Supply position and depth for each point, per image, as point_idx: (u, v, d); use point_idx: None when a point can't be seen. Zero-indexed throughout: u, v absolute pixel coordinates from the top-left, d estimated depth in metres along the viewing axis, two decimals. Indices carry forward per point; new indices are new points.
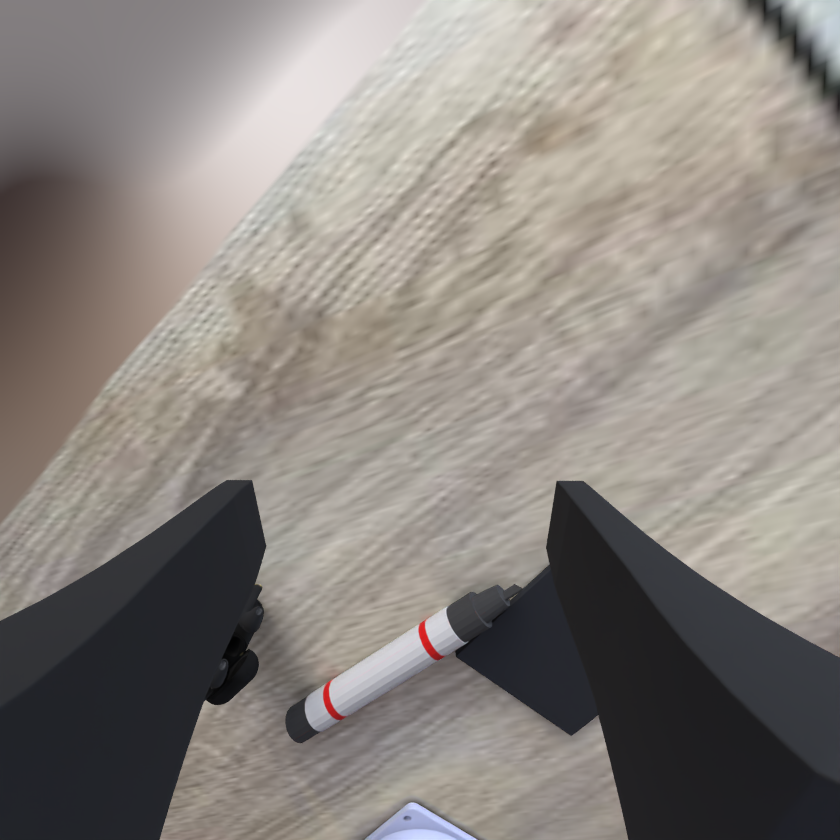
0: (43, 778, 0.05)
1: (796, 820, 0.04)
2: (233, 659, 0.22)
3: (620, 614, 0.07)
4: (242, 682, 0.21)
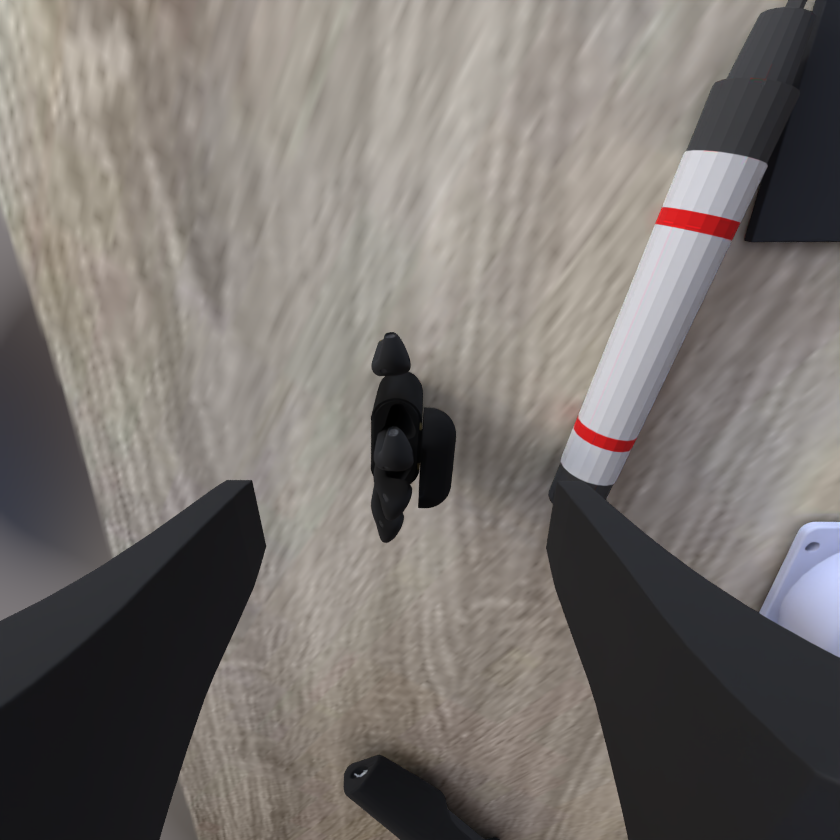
0: (43, 778, 0.05)
1: (795, 821, 0.04)
2: (417, 441, 0.14)
3: (620, 614, 0.07)
4: (441, 447, 0.12)
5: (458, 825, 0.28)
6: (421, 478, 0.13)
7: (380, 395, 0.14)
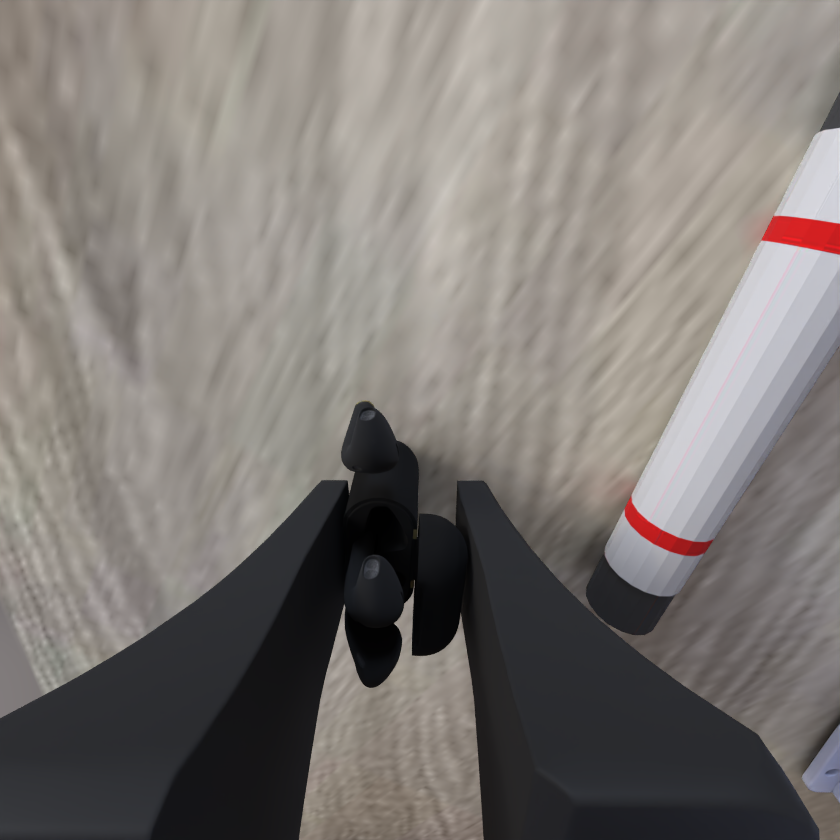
0: (242, 780, 0.05)
1: (534, 817, 0.04)
2: (409, 554, 0.09)
3: (480, 613, 0.07)
4: (447, 582, 0.08)
5: None
6: (416, 622, 0.08)
7: (356, 486, 0.10)
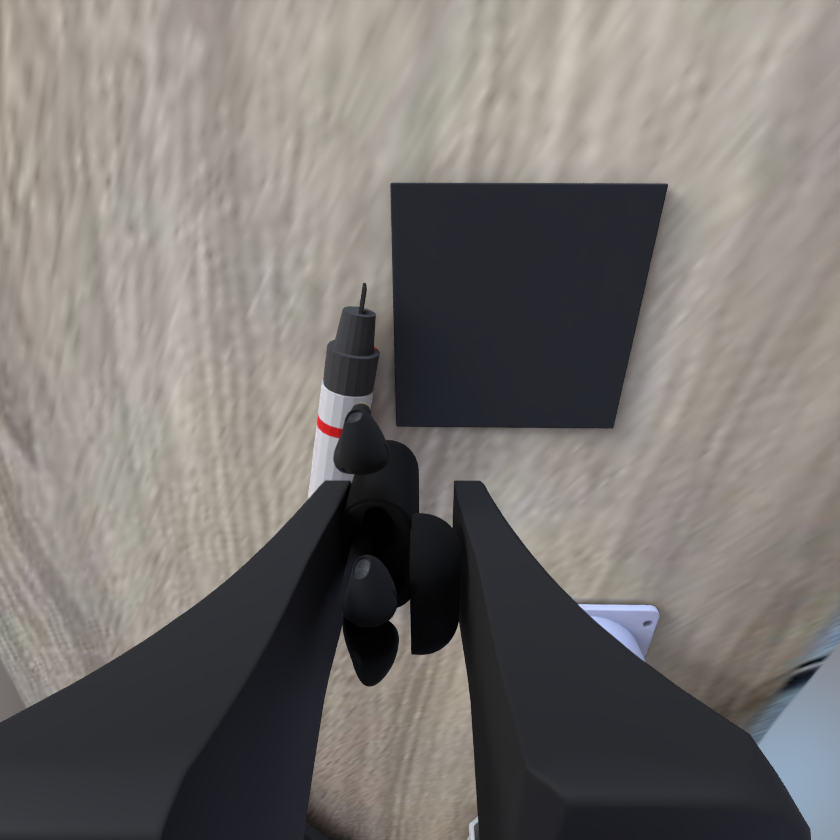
0: (249, 781, 0.05)
1: (526, 817, 0.04)
2: (407, 553, 0.09)
3: (476, 613, 0.07)
4: (439, 581, 0.08)
5: None
6: (412, 622, 0.08)
7: (353, 488, 0.10)
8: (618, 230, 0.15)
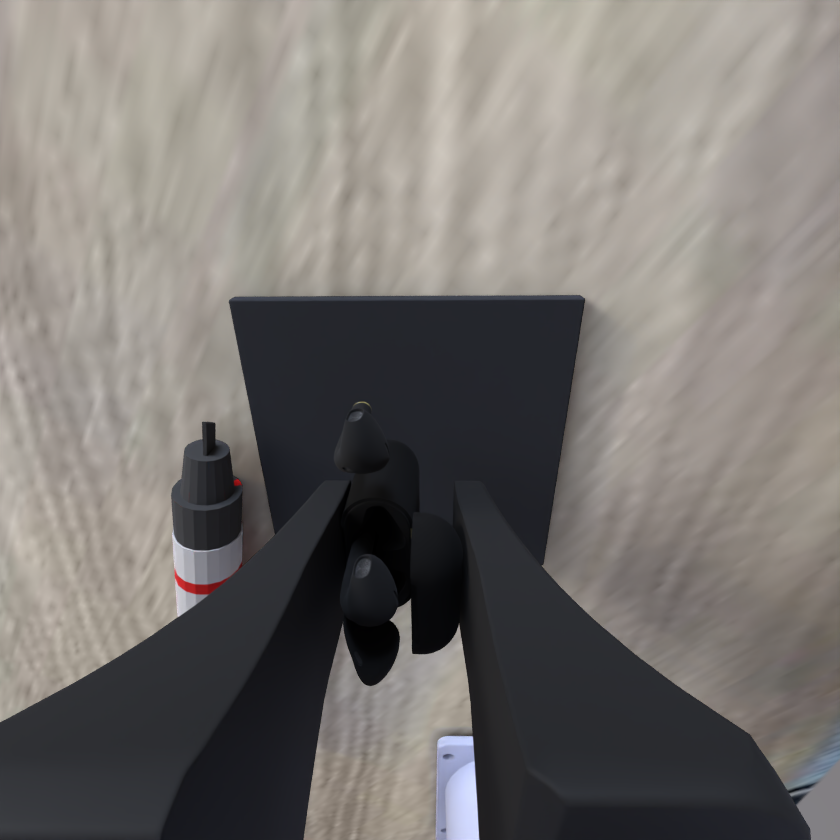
0: (249, 781, 0.05)
1: (525, 818, 0.04)
2: (408, 553, 0.09)
3: (476, 613, 0.07)
4: (440, 580, 0.08)
5: None
6: (413, 621, 0.08)
7: (354, 487, 0.10)
8: (526, 352, 0.12)
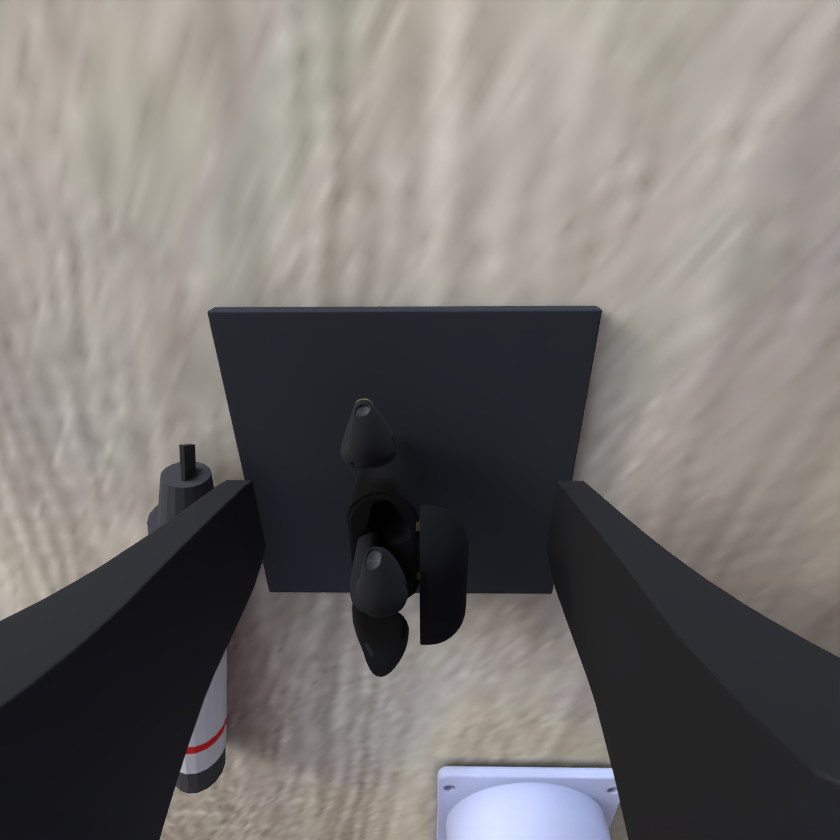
0: (43, 778, 0.05)
1: (795, 821, 0.04)
2: (413, 546, 0.10)
3: (620, 614, 0.07)
4: (448, 570, 0.08)
5: None
6: (421, 612, 0.09)
7: (359, 483, 0.10)
8: (536, 368, 0.11)
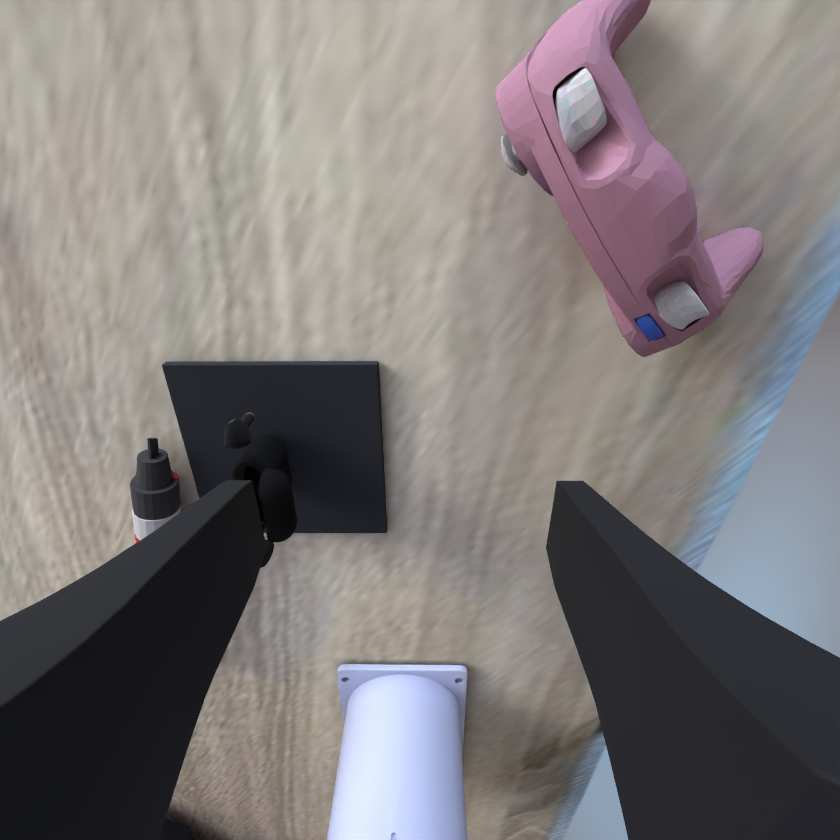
0: (43, 778, 0.05)
1: (795, 820, 0.04)
2: None
3: (620, 614, 0.07)
4: (274, 499, 0.17)
5: None
6: (265, 522, 0.17)
7: (241, 458, 0.18)
8: (348, 395, 0.19)
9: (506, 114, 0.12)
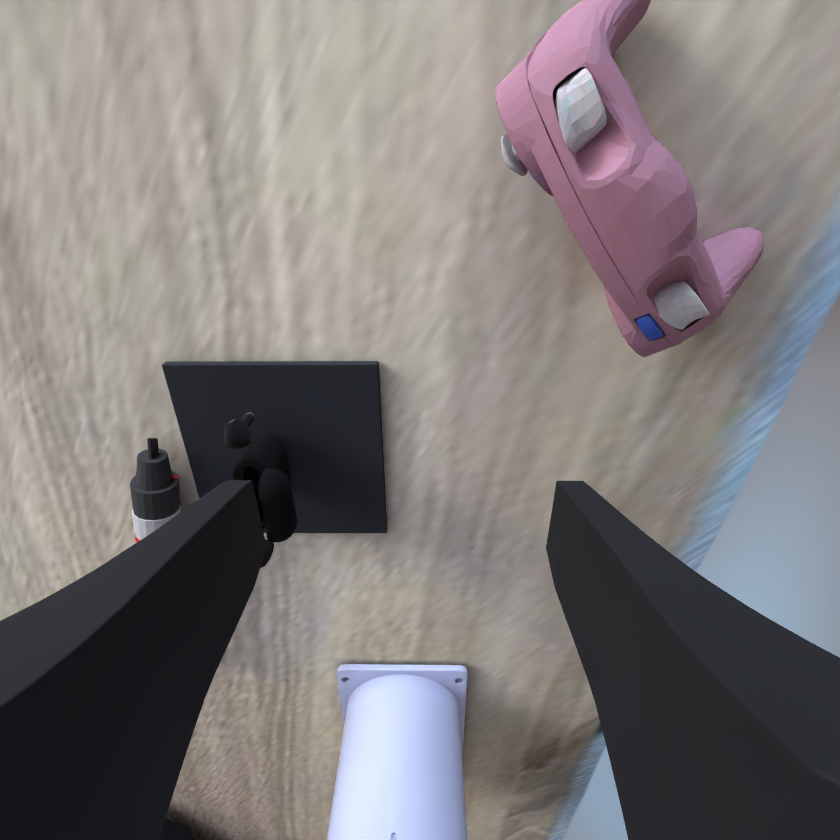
0: (43, 778, 0.05)
1: (794, 820, 0.04)
2: None
3: (620, 614, 0.07)
4: (274, 499, 0.17)
5: None
6: (265, 522, 0.17)
7: (241, 458, 0.18)
8: (348, 395, 0.19)
9: (506, 114, 0.12)
